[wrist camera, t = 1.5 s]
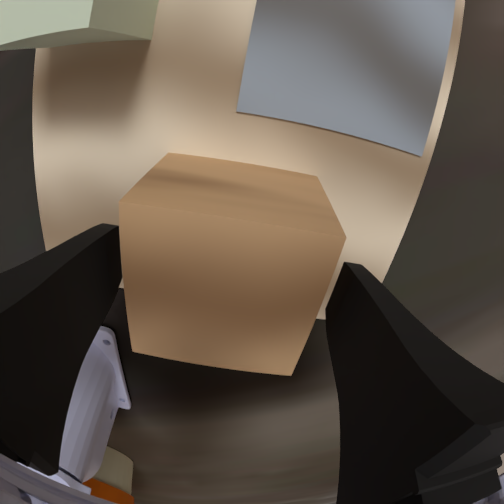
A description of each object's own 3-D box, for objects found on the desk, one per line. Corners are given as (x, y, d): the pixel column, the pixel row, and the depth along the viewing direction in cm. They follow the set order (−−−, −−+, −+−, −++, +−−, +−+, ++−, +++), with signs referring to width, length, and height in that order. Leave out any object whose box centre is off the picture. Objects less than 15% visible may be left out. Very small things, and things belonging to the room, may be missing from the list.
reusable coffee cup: (39, 421, 28) (6, 517, 15) (117, 438, 27) (90, 558, 14) (89, 462, 35) (69, 542, 22) (161, 476, 33) (147, 568, 21)
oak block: (285, 292, 14) (291, 375, 10) (163, 273, 14) (132, 351, 10) (317, 176, 11) (346, 237, 7) (168, 152, 11) (118, 201, 7)
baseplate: (357, 309, 16) (362, 324, 15) (59, 261, 15) (49, 273, 14) (455, -37, 6) (468, -42, 5) (82, -85, 5) (71, -92, 4)
